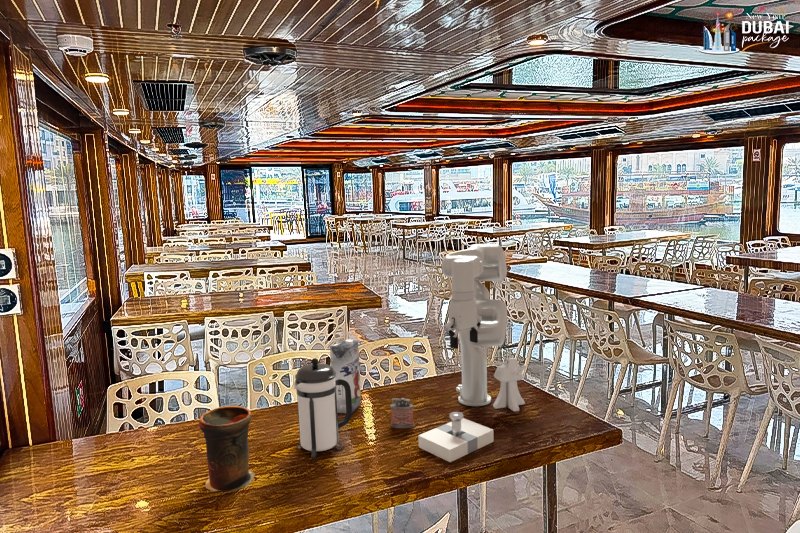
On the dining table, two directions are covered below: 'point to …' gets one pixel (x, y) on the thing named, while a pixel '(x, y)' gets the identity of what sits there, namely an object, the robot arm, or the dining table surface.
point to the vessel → (227, 447)
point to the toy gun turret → (509, 384)
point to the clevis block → (455, 440)
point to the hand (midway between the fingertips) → (464, 344)
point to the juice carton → (346, 372)
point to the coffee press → (319, 407)
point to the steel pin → (456, 423)
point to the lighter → (401, 413)
